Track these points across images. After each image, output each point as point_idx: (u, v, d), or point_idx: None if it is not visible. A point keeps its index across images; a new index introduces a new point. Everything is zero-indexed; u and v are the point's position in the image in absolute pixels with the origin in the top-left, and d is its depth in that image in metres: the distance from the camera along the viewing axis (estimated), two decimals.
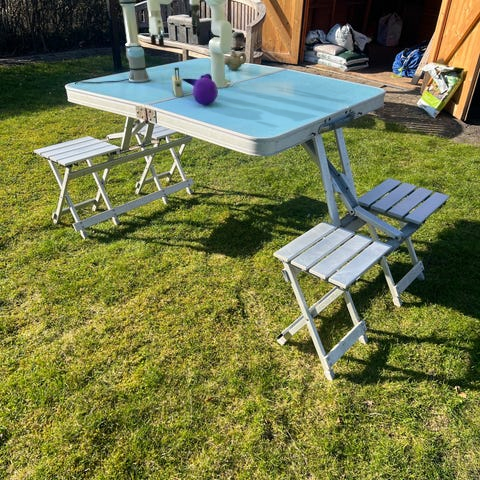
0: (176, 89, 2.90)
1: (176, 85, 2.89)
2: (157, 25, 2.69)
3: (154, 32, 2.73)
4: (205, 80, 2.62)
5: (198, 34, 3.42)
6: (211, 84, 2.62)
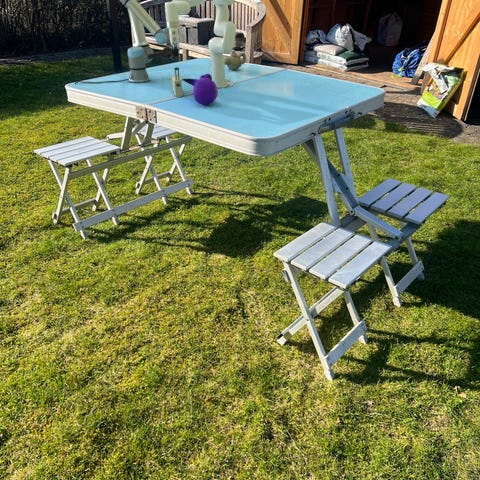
0: (176, 89, 2.90)
1: (176, 85, 2.89)
2: (172, 36, 2.72)
3: (171, 42, 2.76)
4: (205, 80, 2.62)
5: (168, 55, 3.10)
6: (211, 84, 2.62)
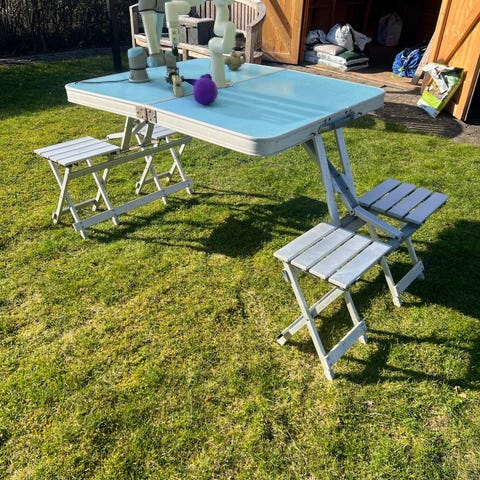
0: (176, 89, 2.90)
1: (176, 85, 2.89)
2: (172, 36, 2.72)
3: (171, 42, 2.76)
4: (205, 80, 2.62)
5: None
6: (211, 84, 2.62)
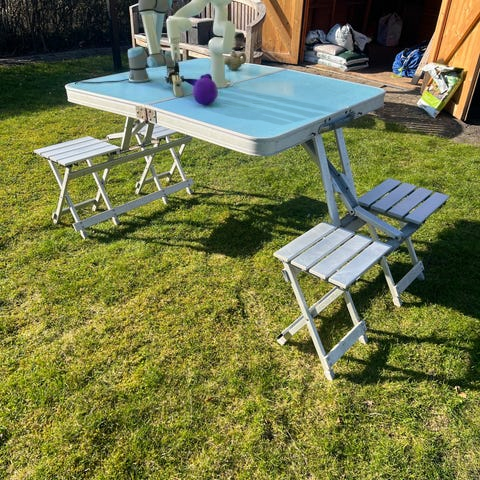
0: (176, 89, 2.90)
1: (176, 85, 2.89)
2: (173, 52, 2.76)
3: (172, 58, 2.80)
4: (205, 80, 2.62)
5: None
6: (211, 84, 2.62)
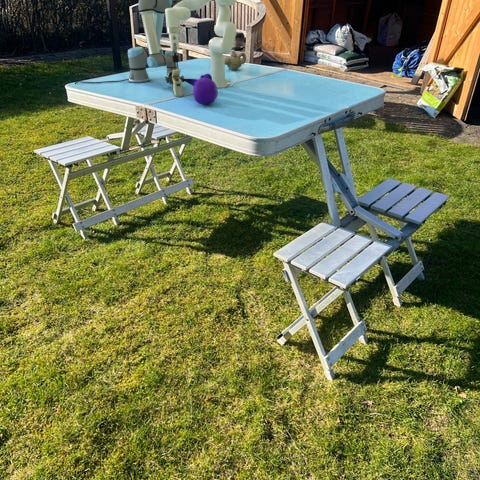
0: (176, 89, 2.90)
1: (176, 85, 2.89)
2: (172, 41, 2.76)
3: (171, 47, 2.81)
4: (205, 80, 2.62)
5: None
6: (211, 84, 2.62)
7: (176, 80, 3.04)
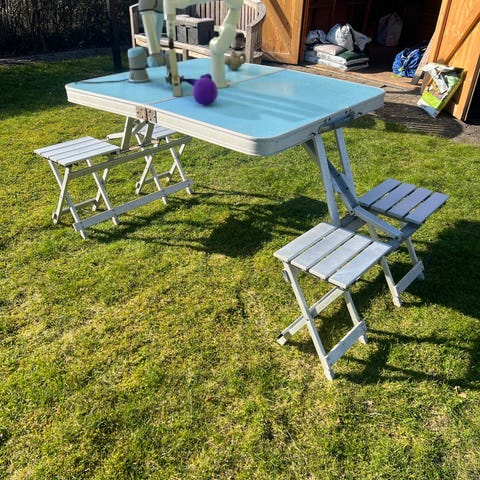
0: (174, 89, 2.90)
1: (174, 85, 2.89)
2: (168, 28, 2.85)
3: (167, 34, 2.90)
4: (205, 80, 2.62)
5: (181, 82, 3.02)
6: (211, 84, 2.62)
7: (176, 80, 3.04)
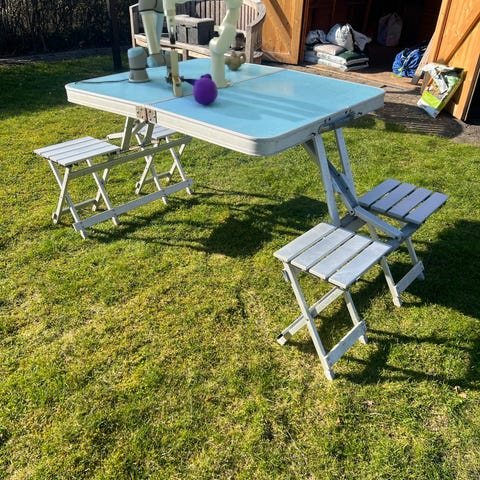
0: (176, 89, 2.90)
1: (176, 85, 2.89)
2: (169, 24, 2.83)
3: (168, 30, 2.88)
4: (205, 80, 2.62)
5: None
6: (211, 84, 2.62)
7: (176, 80, 3.04)
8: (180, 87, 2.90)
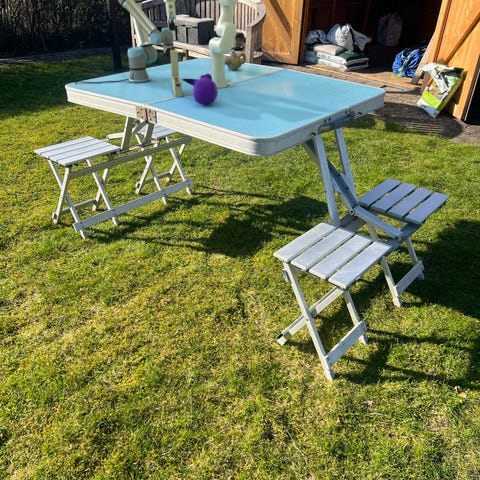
0: (176, 89, 2.90)
1: (176, 85, 2.89)
2: (168, 10, 2.72)
3: (167, 17, 2.77)
4: (205, 80, 2.62)
5: (182, 56, 3.09)
6: (211, 84, 2.62)
7: (176, 80, 3.03)
8: (180, 87, 2.90)
